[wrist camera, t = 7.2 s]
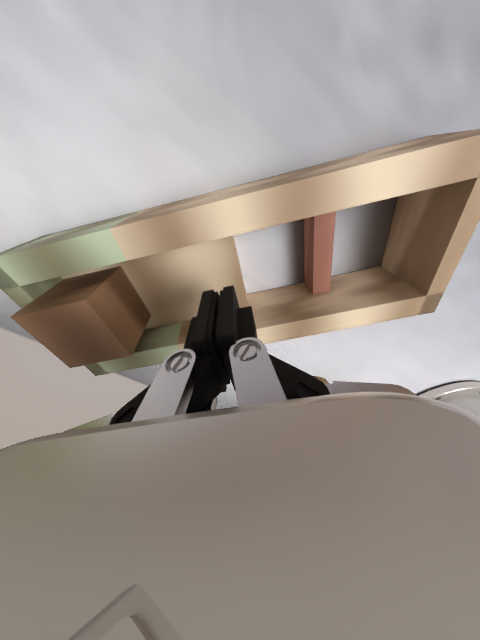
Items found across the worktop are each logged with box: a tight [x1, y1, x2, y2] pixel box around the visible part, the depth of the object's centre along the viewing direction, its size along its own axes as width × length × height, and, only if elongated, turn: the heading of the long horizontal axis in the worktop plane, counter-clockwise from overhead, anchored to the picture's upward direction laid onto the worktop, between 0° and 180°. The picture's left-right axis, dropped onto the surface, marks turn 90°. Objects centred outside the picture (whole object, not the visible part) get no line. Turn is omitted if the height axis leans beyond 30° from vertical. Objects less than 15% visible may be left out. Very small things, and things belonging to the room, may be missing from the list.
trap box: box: [0, 129, 480, 376], centre depth 13 cm, size 24×9×4 cm, turn 102°
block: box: [11, 266, 151, 368], centre depth 12 cm, size 4×4×4 cm
